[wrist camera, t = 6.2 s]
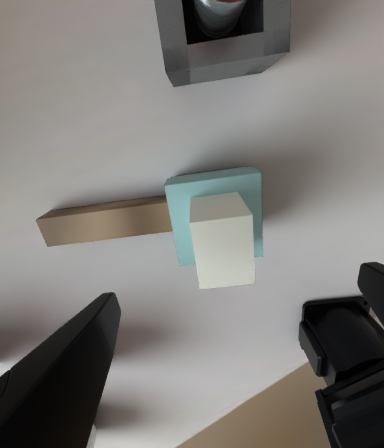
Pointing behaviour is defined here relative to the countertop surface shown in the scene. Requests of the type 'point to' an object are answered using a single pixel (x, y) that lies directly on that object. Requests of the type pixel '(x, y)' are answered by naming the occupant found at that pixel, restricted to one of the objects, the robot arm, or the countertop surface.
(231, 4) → the red and grey cylinder
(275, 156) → the countertop surface
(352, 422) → the robot arm
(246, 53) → the dark grey box
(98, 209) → the rail
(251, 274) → the carriage
